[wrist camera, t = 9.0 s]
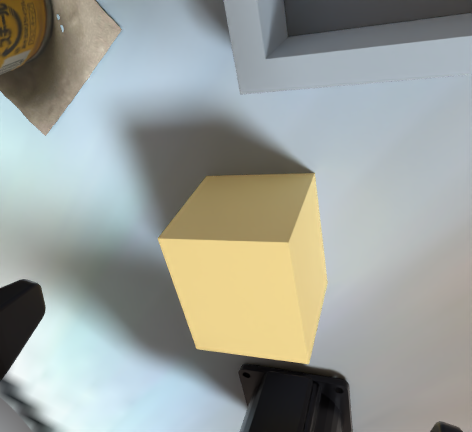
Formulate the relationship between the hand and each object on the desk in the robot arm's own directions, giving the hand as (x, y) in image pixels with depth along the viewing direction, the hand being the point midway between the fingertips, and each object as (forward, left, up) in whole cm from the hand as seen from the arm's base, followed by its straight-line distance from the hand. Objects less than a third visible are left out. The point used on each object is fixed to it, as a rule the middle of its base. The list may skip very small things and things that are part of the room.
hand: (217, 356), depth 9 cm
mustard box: (-4, +2, -11) cm, 12 cm away
